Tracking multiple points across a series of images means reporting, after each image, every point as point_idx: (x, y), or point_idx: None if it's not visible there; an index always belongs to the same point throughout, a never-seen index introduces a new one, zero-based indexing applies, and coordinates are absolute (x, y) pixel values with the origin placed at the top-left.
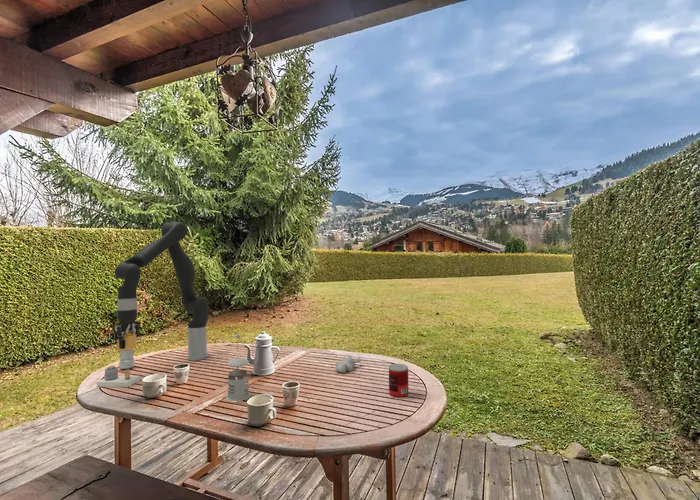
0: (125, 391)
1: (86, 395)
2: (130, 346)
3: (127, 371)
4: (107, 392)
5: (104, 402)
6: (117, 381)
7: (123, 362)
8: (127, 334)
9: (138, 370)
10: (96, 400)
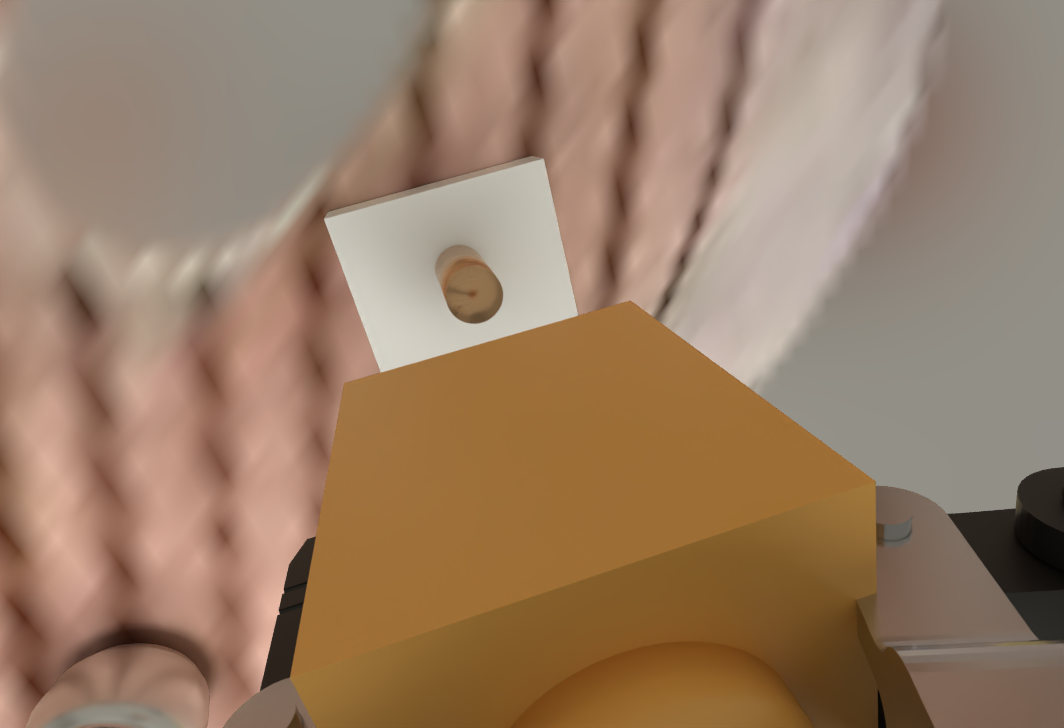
0: (626, 63)
1: (765, 339)
2: (567, 351)
3: (489, 271)
4: (682, 228)
5: (872, 14)
6: (551, 303)
7: (179, 723)
8: (780, 707)
9: (108, 532)
10: (841, 141)
